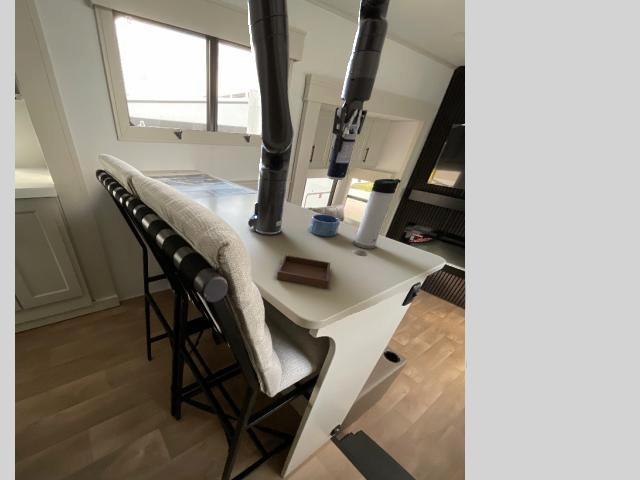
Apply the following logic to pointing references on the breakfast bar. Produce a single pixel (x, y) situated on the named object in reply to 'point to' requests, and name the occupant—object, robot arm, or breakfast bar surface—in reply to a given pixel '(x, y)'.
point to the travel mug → (375, 212)
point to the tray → (304, 271)
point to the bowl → (324, 225)
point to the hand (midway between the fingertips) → (342, 151)
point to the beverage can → (341, 159)
